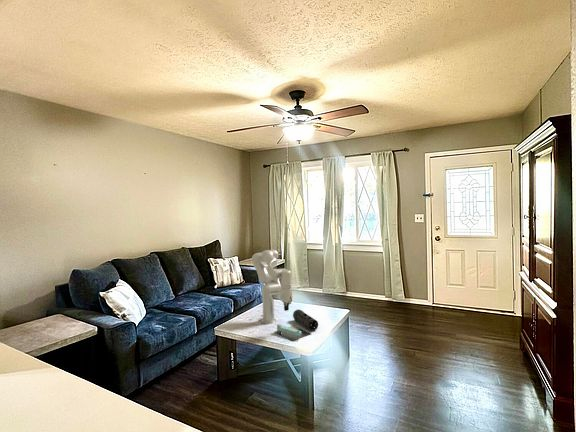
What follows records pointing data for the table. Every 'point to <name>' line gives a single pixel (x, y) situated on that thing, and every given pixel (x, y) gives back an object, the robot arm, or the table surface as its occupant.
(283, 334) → the dark grey mat
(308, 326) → the muzzle brake
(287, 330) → the swing arm
